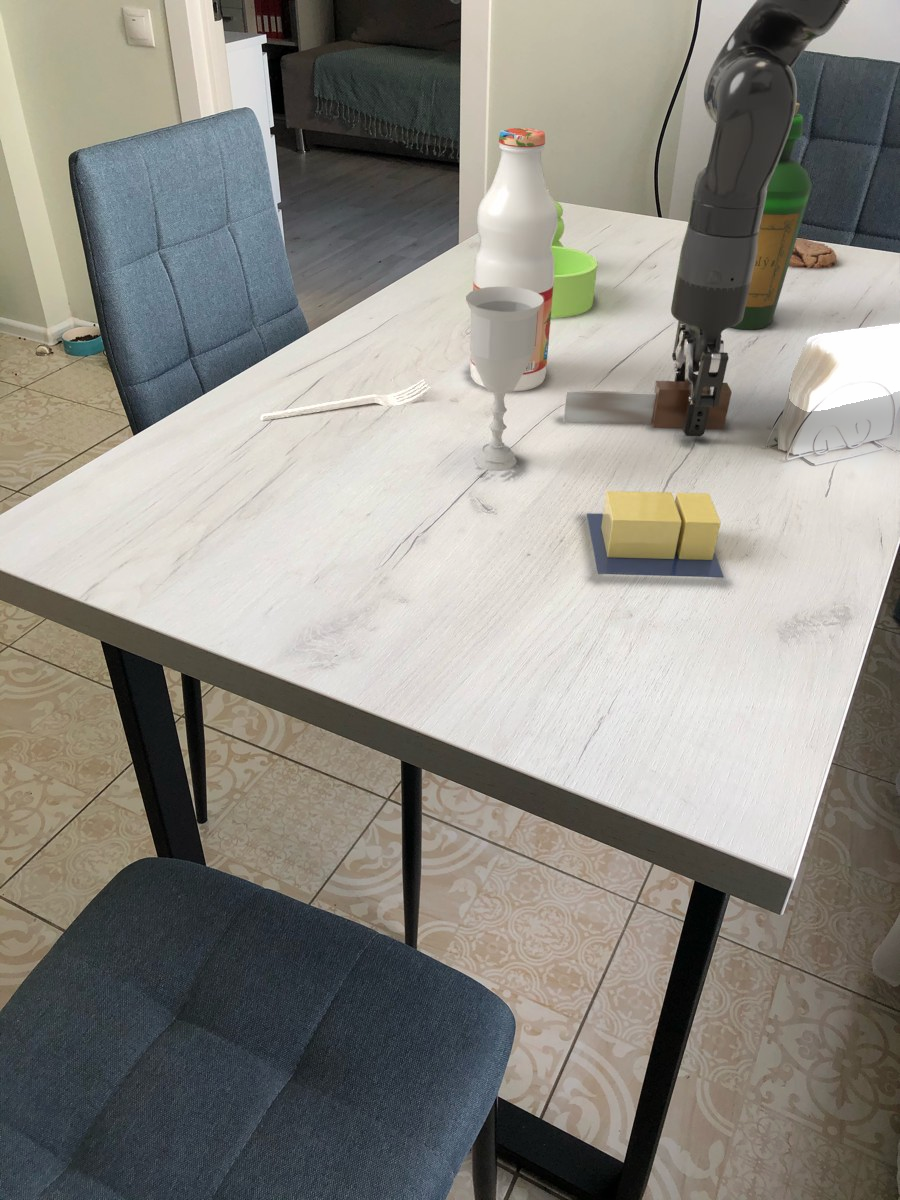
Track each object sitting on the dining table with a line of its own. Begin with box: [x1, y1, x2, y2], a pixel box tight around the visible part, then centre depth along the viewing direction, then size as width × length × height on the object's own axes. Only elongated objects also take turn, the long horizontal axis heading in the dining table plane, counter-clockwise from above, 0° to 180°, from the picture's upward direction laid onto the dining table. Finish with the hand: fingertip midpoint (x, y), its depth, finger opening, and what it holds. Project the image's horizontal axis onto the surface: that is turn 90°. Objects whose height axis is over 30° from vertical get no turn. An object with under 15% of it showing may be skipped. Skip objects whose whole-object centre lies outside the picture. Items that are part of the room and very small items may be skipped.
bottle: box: [730, 102, 813, 331], centre depth 126 cm, size 11×11×28 cm
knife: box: [562, 380, 732, 431], centre depth 106 cm, size 18×2×5 cm, turn 89°
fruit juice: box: [469, 127, 558, 392], centre depth 108 cm, size 9×9×28 cm
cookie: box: [788, 237, 837, 270], centre depth 156 cm, size 10×11×3 cm
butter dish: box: [586, 490, 724, 578], centre depth 85 cm, size 11×10×5 cm
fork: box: [260, 379, 431, 422], centre depth 108 cm, size 3×20×2 cm, turn 112°
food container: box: [547, 188, 598, 319], centre depth 139 cm, size 25×15×13 cm, turn 1°
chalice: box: [465, 287, 544, 472], centre depth 93 cm, size 7×7×18 cm
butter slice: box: [674, 492, 721, 560], centre depth 85 cm, size 3×5×4 cm, turn 179°
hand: (686, 418), depth 107 cm, fingers open, 7 cm apart
